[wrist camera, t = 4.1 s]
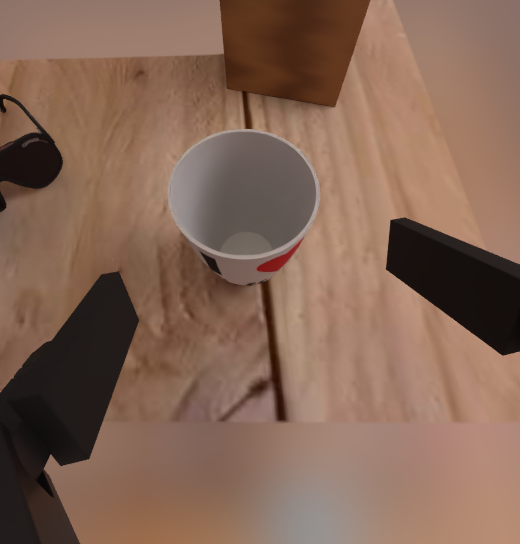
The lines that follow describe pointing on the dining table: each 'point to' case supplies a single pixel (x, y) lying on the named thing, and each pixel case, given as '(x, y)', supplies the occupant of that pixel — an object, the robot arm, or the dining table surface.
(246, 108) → the dining table surface
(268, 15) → the stand
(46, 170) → the sunglasses
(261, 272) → the cup
